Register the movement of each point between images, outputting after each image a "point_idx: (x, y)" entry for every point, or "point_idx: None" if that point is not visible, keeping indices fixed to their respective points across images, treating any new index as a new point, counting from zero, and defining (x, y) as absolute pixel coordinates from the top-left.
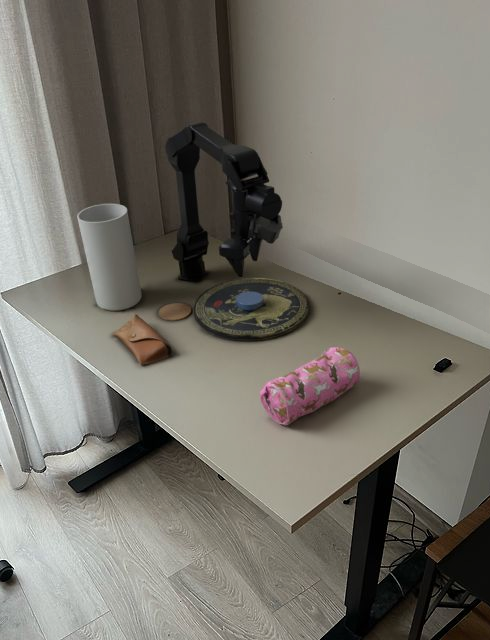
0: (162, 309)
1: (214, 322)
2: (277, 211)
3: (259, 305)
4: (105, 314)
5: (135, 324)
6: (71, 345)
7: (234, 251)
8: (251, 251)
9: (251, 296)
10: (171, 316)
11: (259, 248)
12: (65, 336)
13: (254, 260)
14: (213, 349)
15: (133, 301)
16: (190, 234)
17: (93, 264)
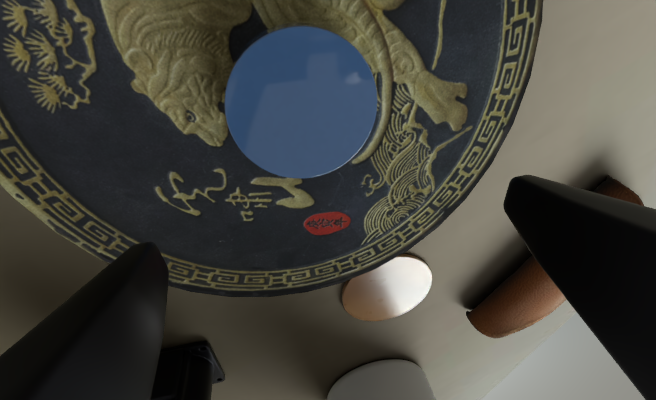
0: (389, 314)
1: (455, 160)
2: None
3: (322, 27)
4: (433, 368)
5: (548, 310)
6: (545, 339)
7: None
8: (139, 379)
9: (283, 111)
10: (417, 281)
11: (11, 377)
12: (516, 361)
13: (159, 262)
14: (576, 77)
15: (395, 370)
16: None
17: None
